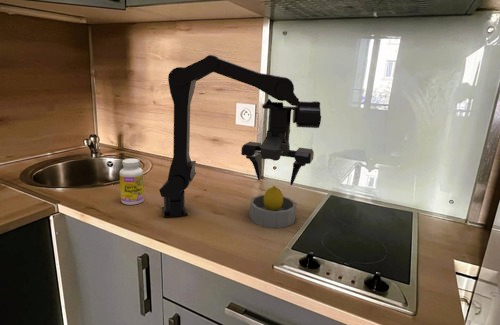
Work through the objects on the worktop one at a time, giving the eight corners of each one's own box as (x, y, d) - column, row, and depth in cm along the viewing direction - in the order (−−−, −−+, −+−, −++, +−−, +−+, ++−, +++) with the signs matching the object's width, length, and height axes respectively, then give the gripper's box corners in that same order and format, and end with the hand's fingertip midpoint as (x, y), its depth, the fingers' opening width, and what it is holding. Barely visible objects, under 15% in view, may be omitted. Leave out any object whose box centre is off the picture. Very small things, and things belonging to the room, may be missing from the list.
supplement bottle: (121, 206, 93) (118, 164, 90) (120, 198, 99) (117, 158, 96) (145, 204, 96) (143, 162, 93) (143, 196, 102) (141, 156, 98)
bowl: (244, 210, 95) (244, 196, 94) (282, 206, 99) (283, 192, 98) (259, 230, 83) (260, 214, 82) (302, 224, 88) (304, 209, 87)
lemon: (270, 208, 95) (271, 182, 93) (285, 213, 92) (288, 186, 90) (258, 213, 91) (260, 186, 89) (275, 218, 88) (277, 190, 86)
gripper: (234, 127, 80) (232, 186, 84) (309, 135, 74) (303, 198, 78) (249, 121, 90) (247, 174, 94) (316, 128, 84) (310, 184, 88)
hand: (275, 182), depth 88 cm, fingers open, 9 cm apart
